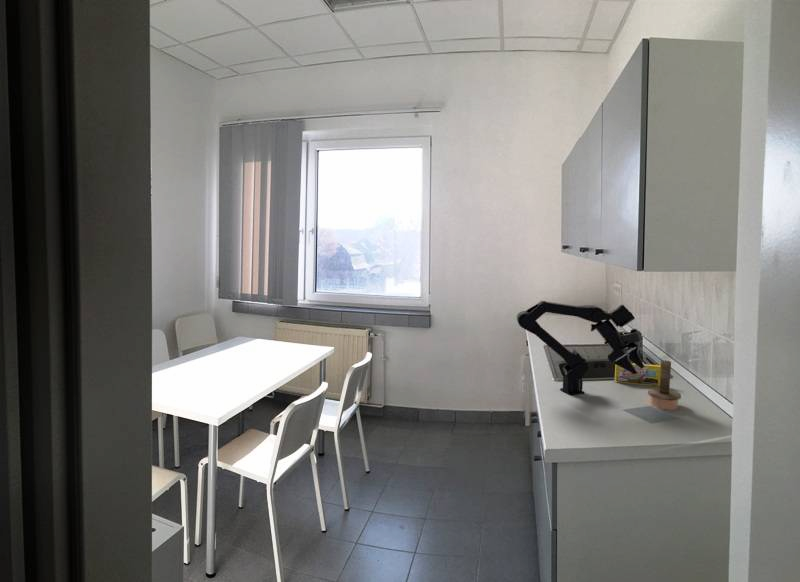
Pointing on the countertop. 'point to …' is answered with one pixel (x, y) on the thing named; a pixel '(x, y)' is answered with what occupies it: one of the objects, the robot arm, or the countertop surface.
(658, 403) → the terracotta bowl
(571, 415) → the countertop surface
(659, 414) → the grey rubber mat
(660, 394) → the walnut cover
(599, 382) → the countertop surface
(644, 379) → the candy box
